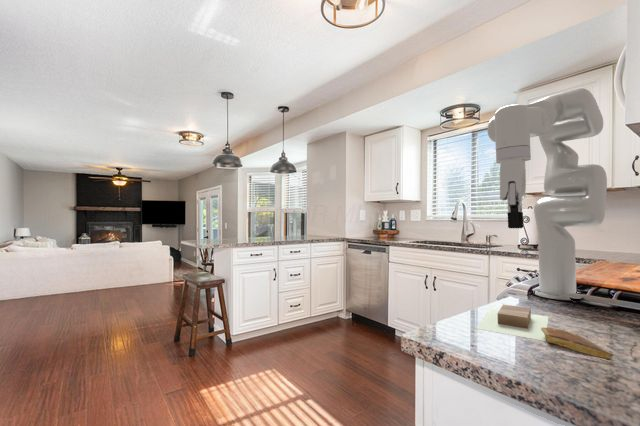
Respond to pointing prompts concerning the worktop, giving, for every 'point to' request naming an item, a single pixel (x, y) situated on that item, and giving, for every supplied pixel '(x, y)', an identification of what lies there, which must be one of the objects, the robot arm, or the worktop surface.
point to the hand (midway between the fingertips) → (515, 227)
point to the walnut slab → (514, 316)
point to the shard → (574, 342)
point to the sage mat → (532, 332)
